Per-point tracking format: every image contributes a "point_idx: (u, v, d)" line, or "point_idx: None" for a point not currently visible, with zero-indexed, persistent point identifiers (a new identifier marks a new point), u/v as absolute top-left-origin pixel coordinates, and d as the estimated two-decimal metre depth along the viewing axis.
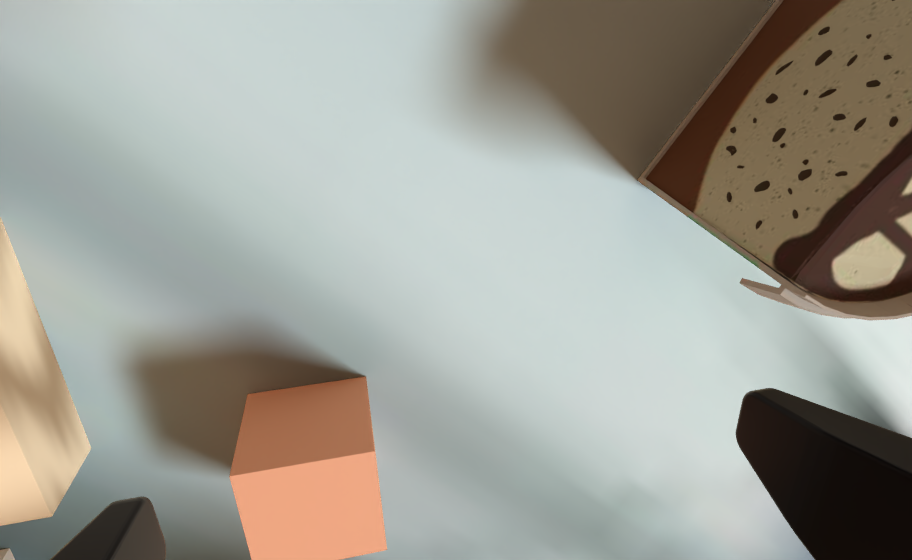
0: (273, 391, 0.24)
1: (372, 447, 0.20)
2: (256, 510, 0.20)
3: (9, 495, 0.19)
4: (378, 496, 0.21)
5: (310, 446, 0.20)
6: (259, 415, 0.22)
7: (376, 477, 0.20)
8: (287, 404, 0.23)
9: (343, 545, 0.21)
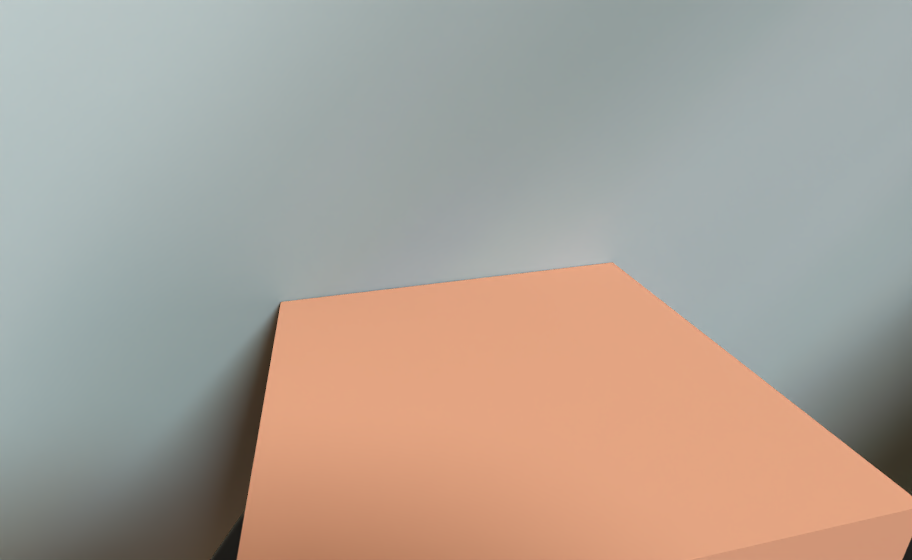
0: None
1: None
2: None
3: None
4: None
5: None
6: None
7: None
8: None
9: None
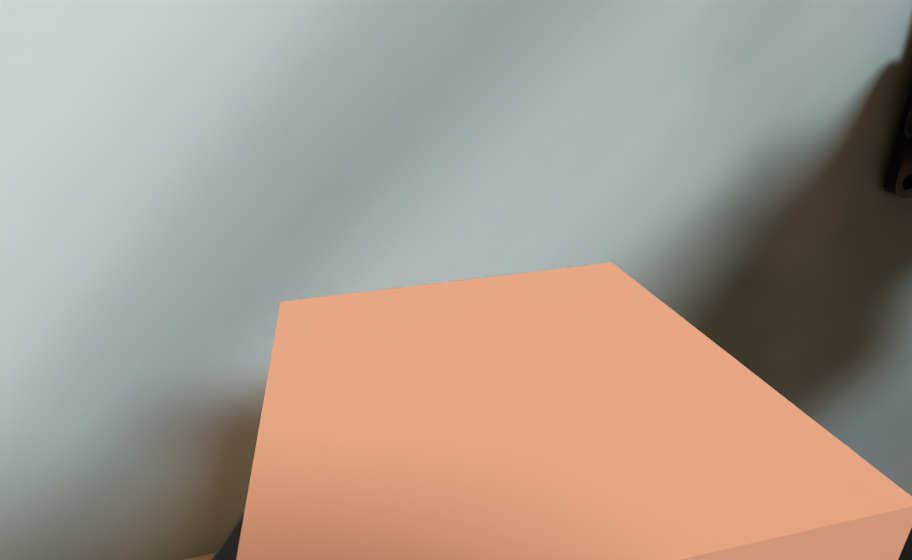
0: None
1: None
2: None
3: None
4: None
5: None
6: None
7: None
8: None
9: None
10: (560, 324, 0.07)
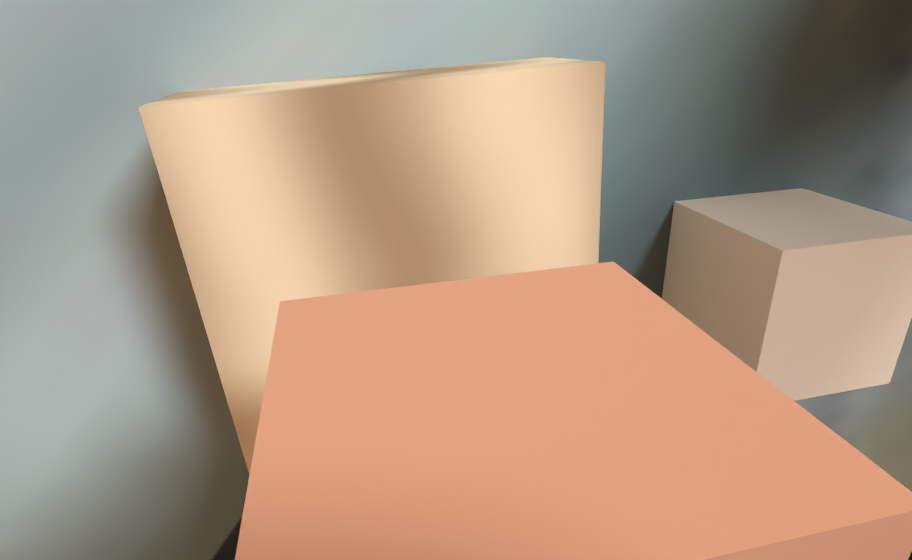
0: None
1: None
2: None
3: (554, 110, 0.13)
4: None
5: None
6: None
7: None
8: None
9: None
10: (562, 324, 0.07)
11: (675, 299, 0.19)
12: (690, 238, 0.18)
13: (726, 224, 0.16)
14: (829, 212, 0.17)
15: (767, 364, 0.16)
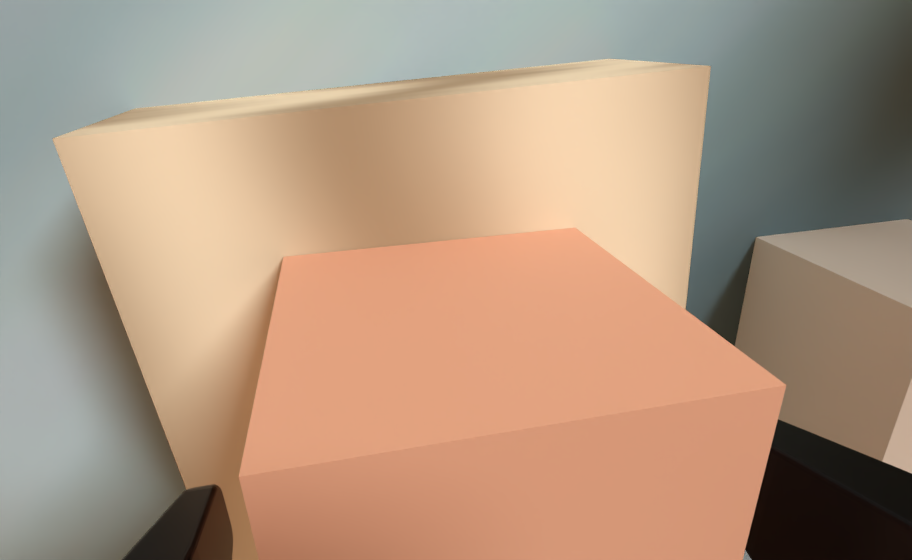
0: None
1: (241, 466, 0.05)
2: None
3: (638, 133, 0.09)
4: (501, 438, 0.05)
5: None
6: None
7: (393, 455, 0.05)
8: None
9: (695, 524, 0.06)
10: (523, 272, 0.08)
11: (753, 354, 0.16)
12: (779, 284, 0.15)
13: (837, 273, 0.13)
14: None
15: (895, 455, 0.12)
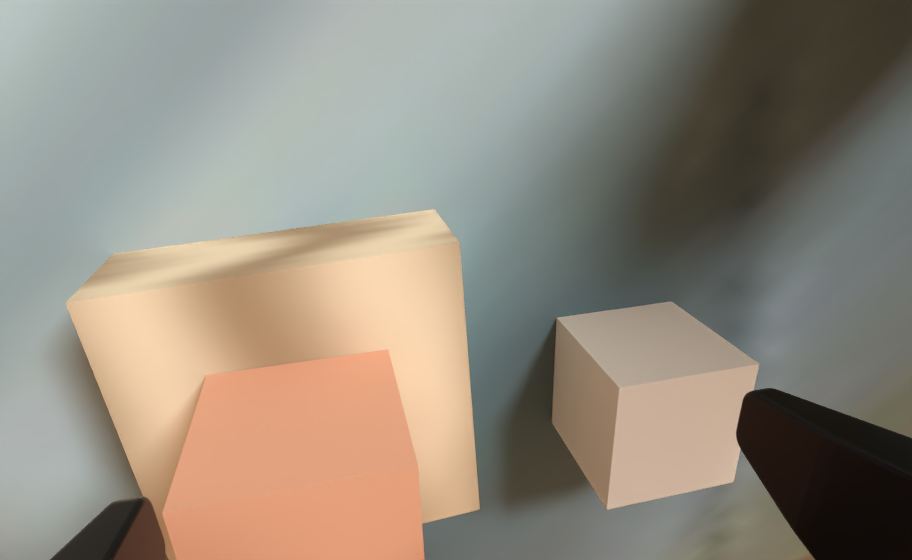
0: None
1: (164, 508, 0.11)
2: None
3: (419, 281, 0.16)
4: (279, 493, 0.11)
5: None
6: None
7: (230, 503, 0.11)
8: None
9: (390, 529, 0.12)
10: (337, 389, 0.14)
11: (560, 400, 0.22)
12: (567, 353, 0.21)
13: (588, 351, 0.19)
14: (680, 337, 0.20)
15: (618, 473, 0.18)
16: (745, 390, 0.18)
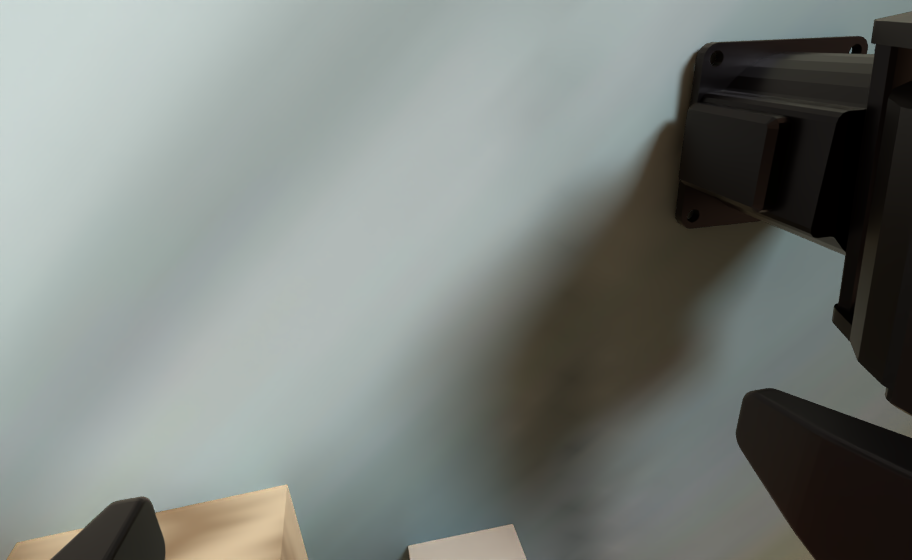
0: None
1: None
2: None
3: None
4: None
5: None
6: None
7: None
8: None
9: None
10: None
11: None
12: None
13: None
14: None
15: None
16: None
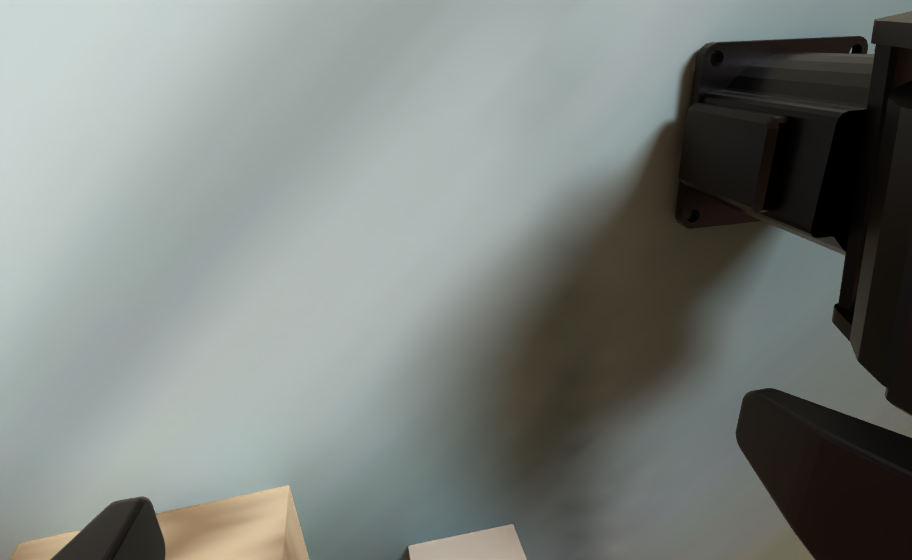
0: None
1: None
2: None
3: None
4: None
5: None
6: None
7: None
8: None
9: None
10: None
11: None
12: None
13: None
14: None
15: None
16: None
